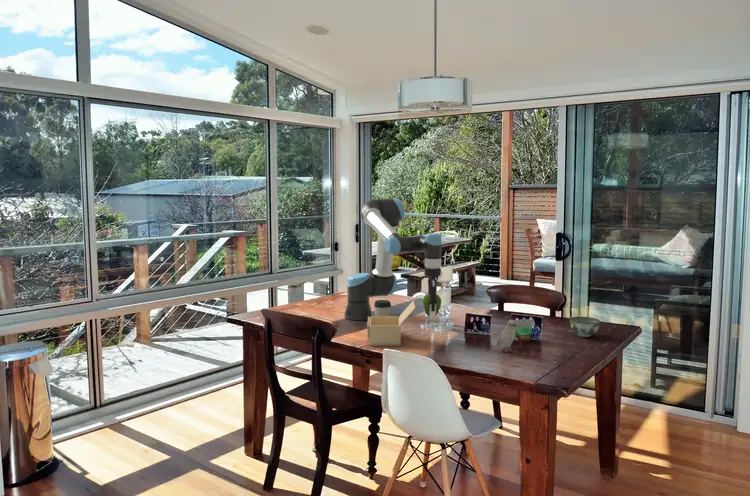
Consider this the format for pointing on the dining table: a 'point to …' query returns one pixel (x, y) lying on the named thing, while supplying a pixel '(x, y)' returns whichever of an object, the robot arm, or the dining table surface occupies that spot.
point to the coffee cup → (382, 308)
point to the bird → (507, 335)
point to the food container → (523, 330)
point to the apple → (427, 306)
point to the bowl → (584, 326)
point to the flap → (407, 312)
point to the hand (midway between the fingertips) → (431, 315)
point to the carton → (384, 331)
